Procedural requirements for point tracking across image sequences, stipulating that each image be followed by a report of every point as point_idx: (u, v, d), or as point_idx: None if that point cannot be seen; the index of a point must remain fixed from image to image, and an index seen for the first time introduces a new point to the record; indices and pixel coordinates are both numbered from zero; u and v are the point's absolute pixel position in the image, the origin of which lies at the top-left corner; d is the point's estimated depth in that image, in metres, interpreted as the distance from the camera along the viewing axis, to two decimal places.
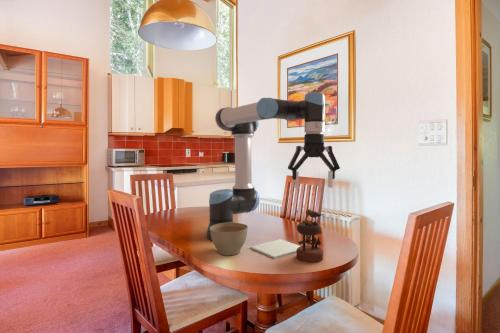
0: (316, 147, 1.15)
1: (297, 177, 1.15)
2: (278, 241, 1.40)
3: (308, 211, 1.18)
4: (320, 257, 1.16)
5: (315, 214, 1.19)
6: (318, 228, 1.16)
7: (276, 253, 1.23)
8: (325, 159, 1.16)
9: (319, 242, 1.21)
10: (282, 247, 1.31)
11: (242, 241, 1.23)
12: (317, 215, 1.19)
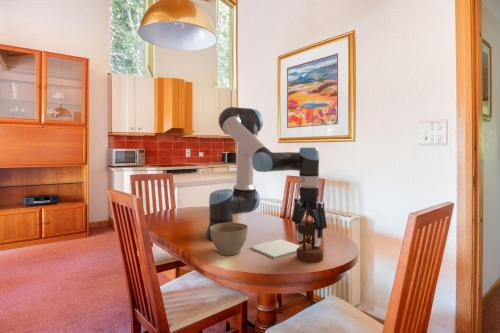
0: (308, 199, 1.17)
1: (297, 230, 1.22)
2: (278, 241, 1.40)
3: (308, 211, 1.18)
4: (320, 257, 1.16)
5: None
6: None
7: (276, 253, 1.23)
8: (313, 215, 1.15)
9: None
10: (282, 247, 1.31)
11: (242, 241, 1.23)
12: None
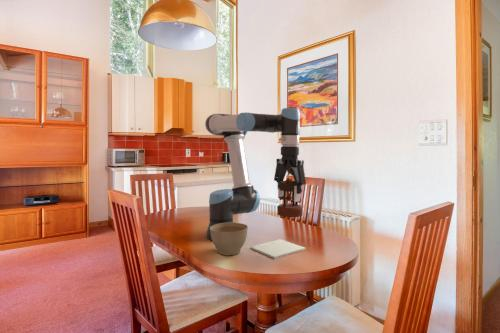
0: (289, 157, 1.23)
1: (278, 188, 1.28)
2: (278, 241, 1.40)
3: (289, 169, 1.25)
4: (299, 212, 1.23)
5: None
6: None
7: (276, 253, 1.23)
8: (293, 172, 1.21)
9: None
10: (282, 247, 1.31)
11: (242, 241, 1.23)
12: None
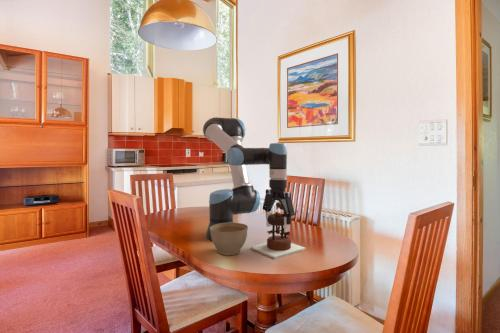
0: (277, 190, 1.28)
1: (267, 217, 1.34)
2: None
3: (277, 204, 1.30)
4: (287, 245, 1.28)
5: None
6: None
7: (276, 253, 1.23)
8: (281, 204, 1.26)
9: (288, 232, 1.33)
10: None
11: (242, 241, 1.23)
12: None
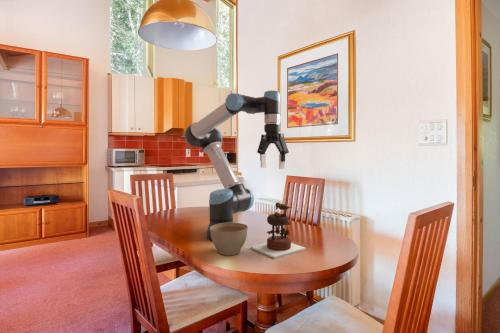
0: (271, 135, 1.42)
1: (261, 159, 1.49)
2: None
3: (277, 204, 1.30)
4: (287, 245, 1.28)
5: (283, 206, 1.30)
6: (285, 219, 1.27)
7: (276, 253, 1.23)
8: (276, 144, 1.40)
9: (288, 232, 1.33)
10: None
11: (242, 241, 1.23)
12: (285, 207, 1.31)
